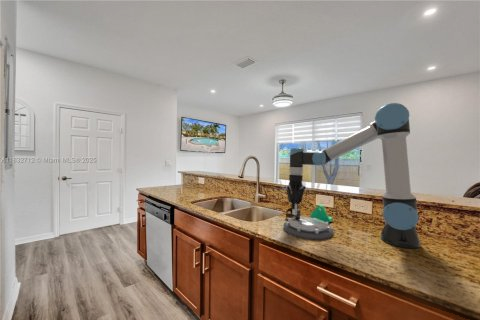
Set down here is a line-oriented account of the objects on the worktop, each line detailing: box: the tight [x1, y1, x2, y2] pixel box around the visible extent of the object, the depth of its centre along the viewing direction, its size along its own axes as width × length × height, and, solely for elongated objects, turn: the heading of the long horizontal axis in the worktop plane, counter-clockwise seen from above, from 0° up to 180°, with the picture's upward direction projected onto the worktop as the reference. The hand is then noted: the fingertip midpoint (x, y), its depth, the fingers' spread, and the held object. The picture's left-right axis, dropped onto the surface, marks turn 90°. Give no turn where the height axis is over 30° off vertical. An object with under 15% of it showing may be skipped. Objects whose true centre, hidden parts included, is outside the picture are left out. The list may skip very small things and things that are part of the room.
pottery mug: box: [285, 207, 302, 219], centre depth 136 cm, size 12×10×8 cm
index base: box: [283, 220, 334, 241], centre depth 113 cm, size 26×26×3 cm
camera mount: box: [309, 204, 333, 223], centre depth 132 cm, size 12×8×10 cm, turn 50°
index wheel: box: [286, 208, 331, 234], centre depth 113 cm, size 22×22×7 cm
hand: (294, 214), depth 119 cm, fingers closed
